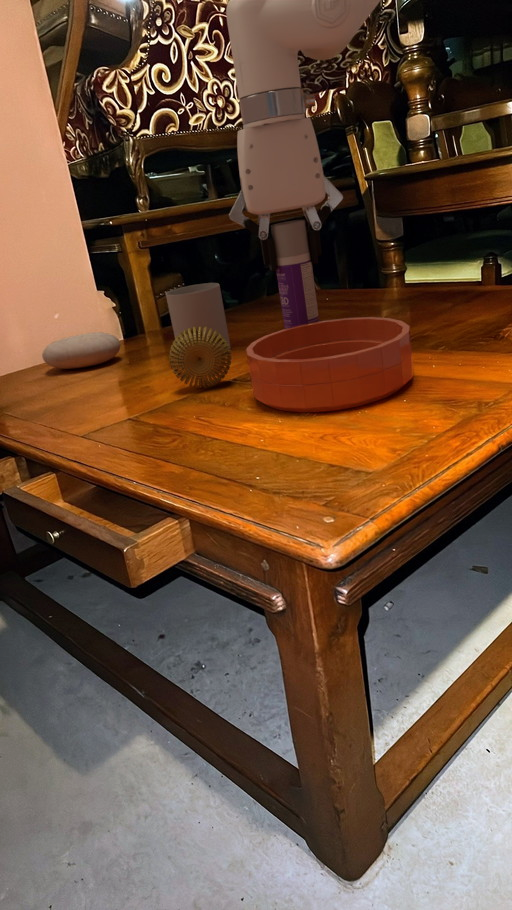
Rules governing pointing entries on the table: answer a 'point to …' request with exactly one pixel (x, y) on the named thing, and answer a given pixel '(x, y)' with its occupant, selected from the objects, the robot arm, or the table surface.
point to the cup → (198, 309)
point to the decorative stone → (81, 350)
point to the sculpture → (200, 357)
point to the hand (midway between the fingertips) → (293, 264)
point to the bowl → (331, 364)
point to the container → (294, 273)
